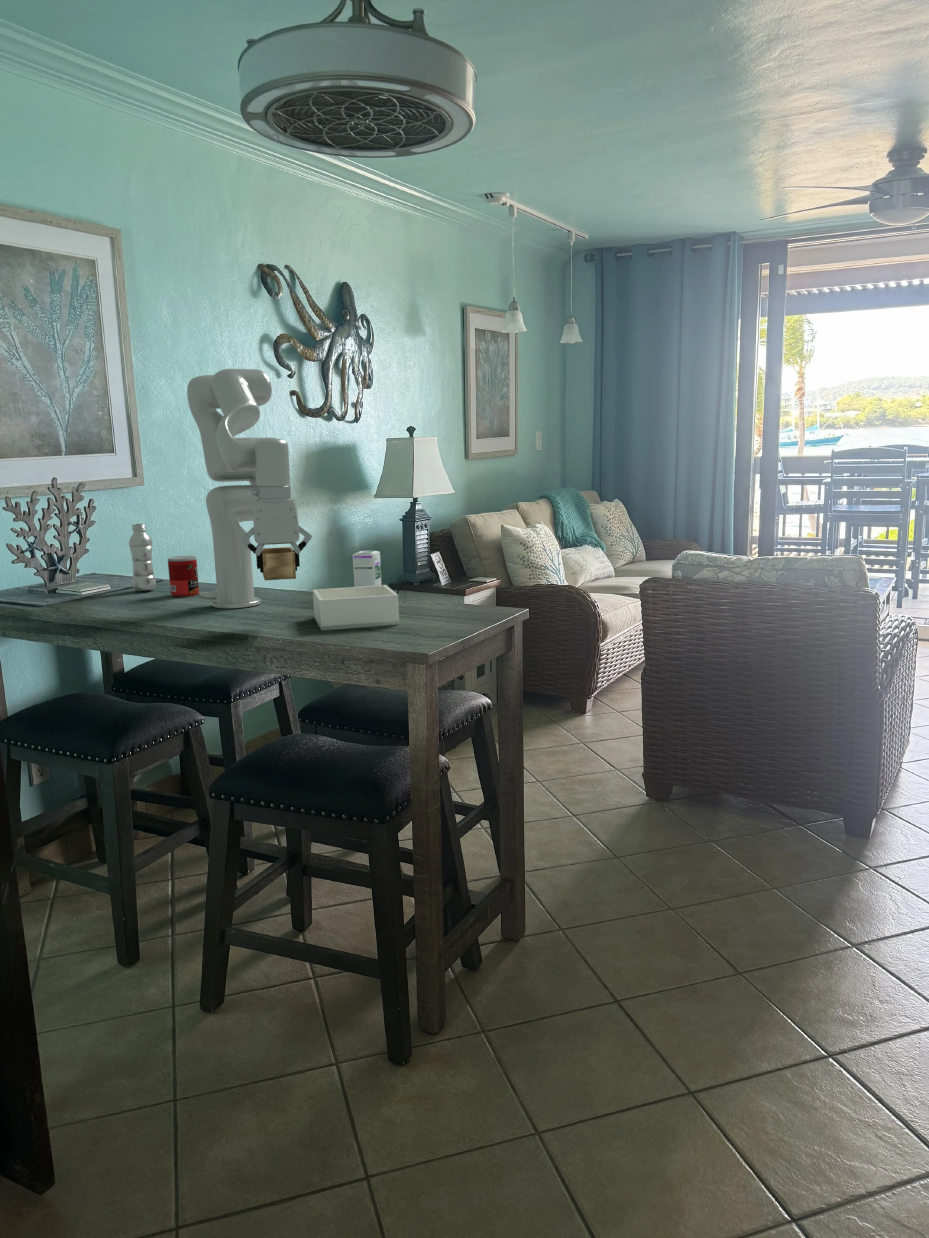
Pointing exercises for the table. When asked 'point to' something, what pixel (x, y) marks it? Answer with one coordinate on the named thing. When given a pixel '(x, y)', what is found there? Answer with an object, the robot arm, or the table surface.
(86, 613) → the table surface
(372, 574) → the syrup box
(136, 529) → the plastic bottle
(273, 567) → the wooden crate
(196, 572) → the canned food
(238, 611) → the table surface
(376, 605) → the plastic crate
